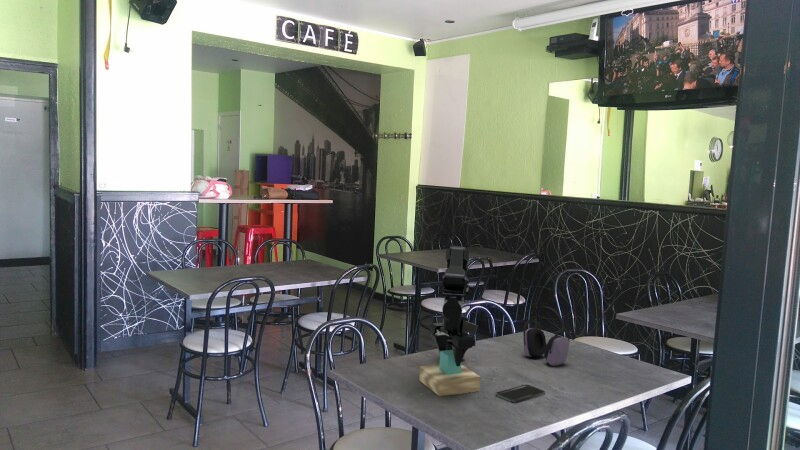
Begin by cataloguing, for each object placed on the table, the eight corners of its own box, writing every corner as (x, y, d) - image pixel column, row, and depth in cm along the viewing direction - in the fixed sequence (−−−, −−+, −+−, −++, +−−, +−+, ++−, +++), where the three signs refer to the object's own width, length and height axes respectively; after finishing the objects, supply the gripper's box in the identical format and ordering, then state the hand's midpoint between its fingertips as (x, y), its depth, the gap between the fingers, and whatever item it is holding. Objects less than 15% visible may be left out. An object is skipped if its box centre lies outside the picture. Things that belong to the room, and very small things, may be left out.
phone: (494, 392, 175) (527, 384, 184) (494, 396, 175) (526, 387, 184) (514, 401, 168) (547, 391, 177) (513, 405, 168) (546, 395, 178)
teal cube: (439, 369, 182) (440, 350, 182) (453, 368, 184) (454, 349, 184) (447, 374, 178) (448, 355, 177) (461, 373, 180) (462, 354, 179)
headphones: (536, 352, 221) (539, 301, 220) (571, 365, 207) (575, 310, 206) (518, 356, 216) (522, 303, 214) (553, 369, 202) (557, 313, 200)
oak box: (419, 381, 185) (419, 366, 184) (457, 377, 190) (458, 362, 190) (439, 397, 172) (440, 381, 172) (479, 392, 178) (480, 376, 177)
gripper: (491, 317, 175) (488, 368, 176) (459, 304, 191) (456, 350, 193) (460, 320, 170) (457, 372, 171) (429, 306, 186) (427, 353, 188)
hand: (450, 361), depth 181 cm, fingers open, 9 cm apart
